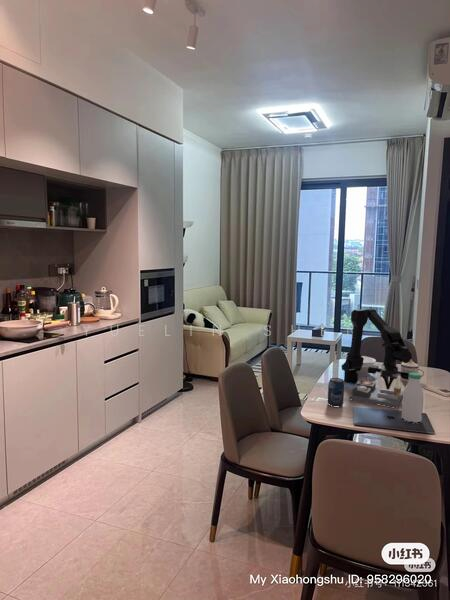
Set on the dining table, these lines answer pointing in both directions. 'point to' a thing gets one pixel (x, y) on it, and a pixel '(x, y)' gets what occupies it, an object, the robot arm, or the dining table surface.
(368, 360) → the bowl
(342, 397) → the soda can
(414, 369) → the teacup with lid
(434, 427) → the dining table surface
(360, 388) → the button grey
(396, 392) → the upright wooden block
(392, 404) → the control panel
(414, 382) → the milk bottle
